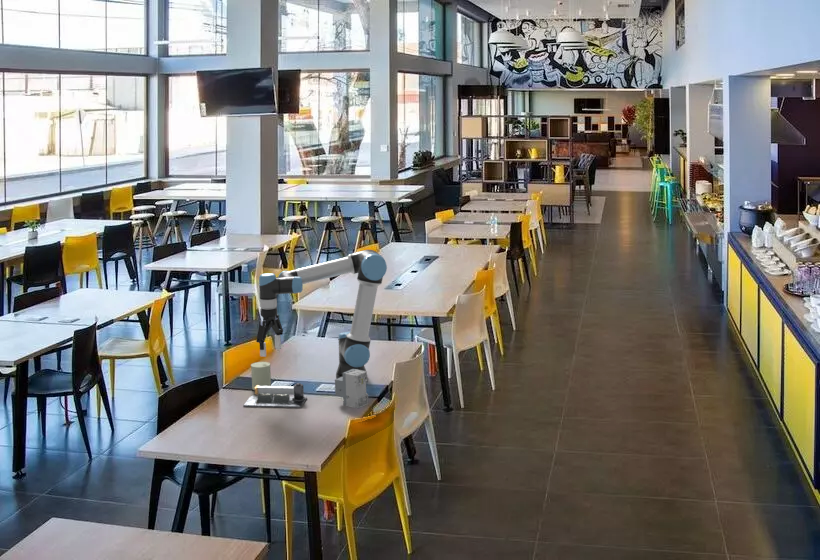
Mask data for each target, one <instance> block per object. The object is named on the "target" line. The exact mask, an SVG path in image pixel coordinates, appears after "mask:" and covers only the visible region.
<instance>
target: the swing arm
mask: <svg viewBox="0 0 820 560" xmlns="http://www.w3.org/2000/svg"><path fill="white" fill-rule="evenodd" d="M304 390H305V389H304V384H302V383H300V382H297V383H296V384H294V385H293V386H288V385H287V386H285V385H278V386H277V385H271V386H260V385H257V386H256V387H255V390H254V395H258V394H273V395H275V394H289V396H292V395H293V397H294V399H303V398H304V397H305V395H304V394H305V393H304Z"/></svg>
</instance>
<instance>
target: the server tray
mask: <svg viewBox="0 0 820 560" xmlns="http://www.w3.org/2000/svg"><path fill="white" fill-rule="evenodd" d="M307 399H308V397H307V396H304V398H303V399H294V396H290V394H257V395H251V396H249V397H248V399H247V400H246V401H245V403H243V406H242V407H245V408H281V409H282V408H283V409H285V408H286V409H289V408H290V409H301V408H302V407H303V405H304V403H305V402H306V400H307Z"/></svg>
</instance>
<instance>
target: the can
mask: <svg viewBox="0 0 820 560" xmlns="http://www.w3.org/2000/svg"><path fill="white" fill-rule="evenodd" d="M250 369H251V370H250V371H251V390H253V391H255V387H256V386H257V385H260V386H272V380H271V379H272V378H271V377H272V376H271V375H272V373H271V363H270V362H269V361H268V362H267V361H258V362H256V361H255V362H253V363H251V364H250Z"/></svg>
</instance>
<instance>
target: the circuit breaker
mask: <svg viewBox="0 0 820 560" xmlns="http://www.w3.org/2000/svg"><path fill="white" fill-rule="evenodd" d="M351 371H352V372H351ZM342 374H343V377H340V378H338V379H336V378H335V379H334V389H335V390H334V391H335V392H334V393H335V396H337V397H340V398H342V399H343V406H345V407H350V408H353V409H354V408H355V409H360V408H362V407H364V406H366V405H369V393H367V382H368V380H369V378H368V371H367V370H366V371H362V370H357V369H351V370H349V371H346V372H344V373H342ZM365 377H366V379H365Z"/></svg>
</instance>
